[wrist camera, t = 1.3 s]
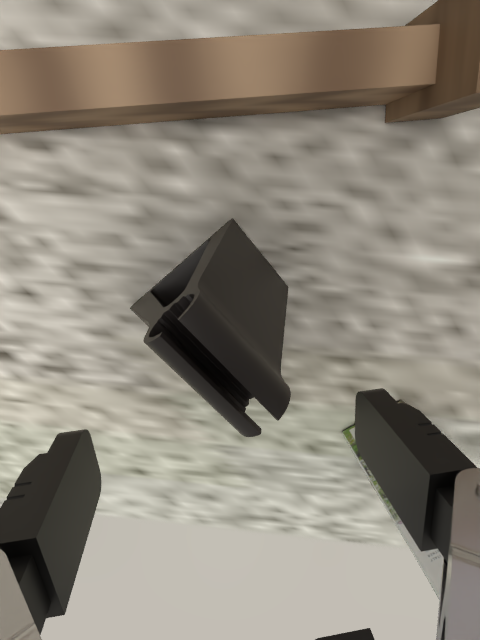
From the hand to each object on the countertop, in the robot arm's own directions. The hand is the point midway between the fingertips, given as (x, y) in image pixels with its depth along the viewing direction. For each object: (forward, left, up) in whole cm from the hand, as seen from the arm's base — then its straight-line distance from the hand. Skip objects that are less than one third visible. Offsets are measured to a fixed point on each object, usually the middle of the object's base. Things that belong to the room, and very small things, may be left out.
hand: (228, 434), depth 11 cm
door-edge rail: (-2, -12, -15) cm, 20 cm away
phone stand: (0, 0, -16) cm, 16 cm away
